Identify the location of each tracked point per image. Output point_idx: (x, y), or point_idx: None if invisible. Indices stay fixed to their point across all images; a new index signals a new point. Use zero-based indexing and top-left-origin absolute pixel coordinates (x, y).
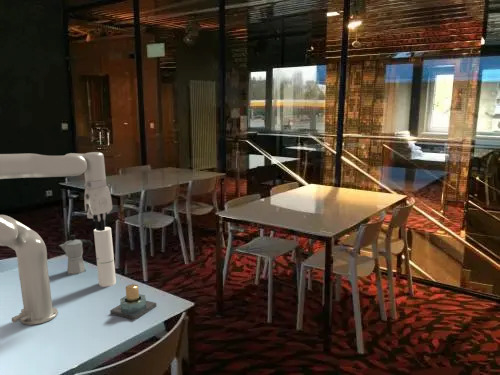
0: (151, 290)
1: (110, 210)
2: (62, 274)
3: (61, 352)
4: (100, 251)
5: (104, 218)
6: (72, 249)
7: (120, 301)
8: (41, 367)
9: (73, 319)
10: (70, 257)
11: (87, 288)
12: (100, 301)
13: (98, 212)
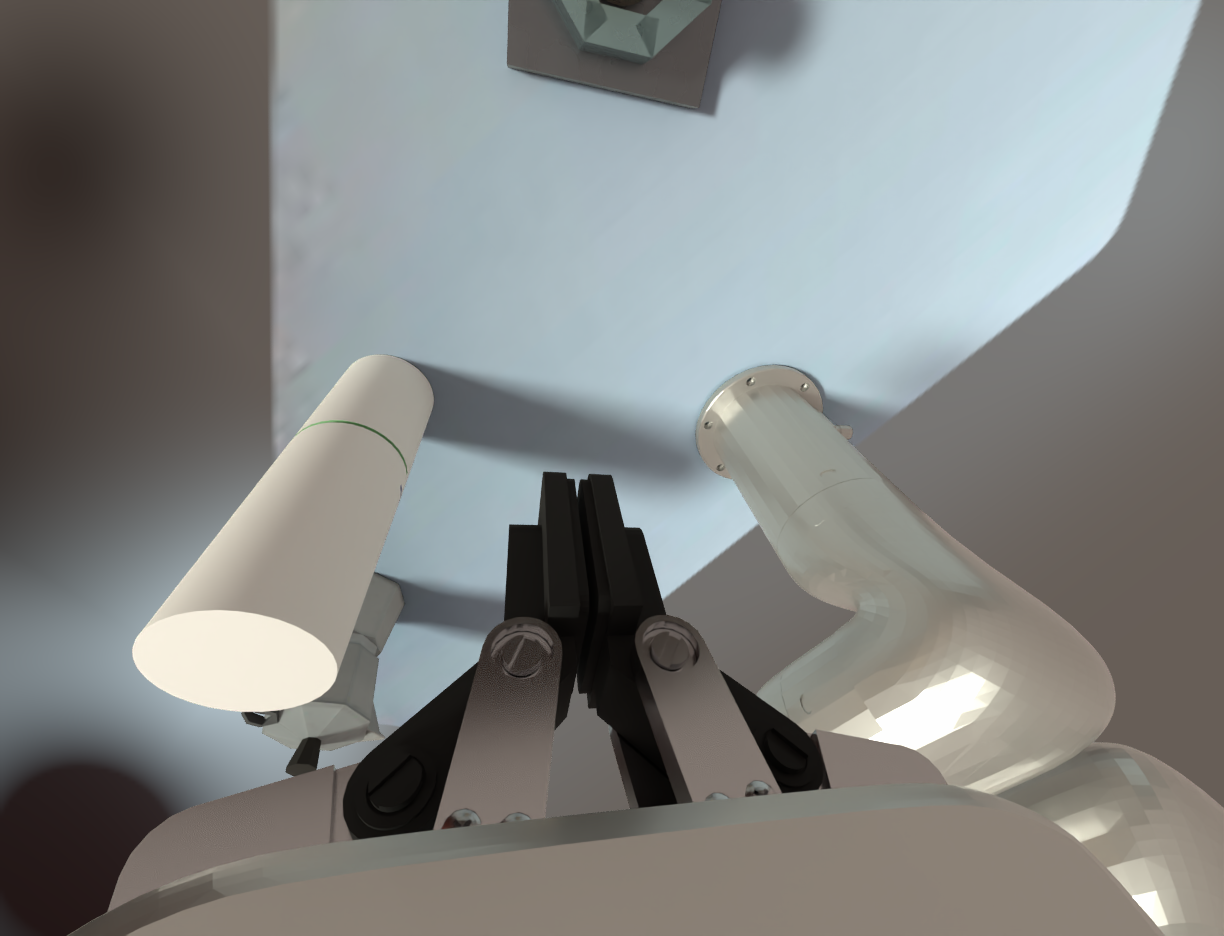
0: (305, 19)
1: (217, 885)
2: (419, 611)
3: (1049, 97)
4: (380, 507)
5: (510, 650)
6: (356, 685)
7: (686, 25)
8: (1148, 98)
9: (764, 277)
10: (374, 655)
11: (480, 442)
12: (576, 282)
13: (951, 878)
